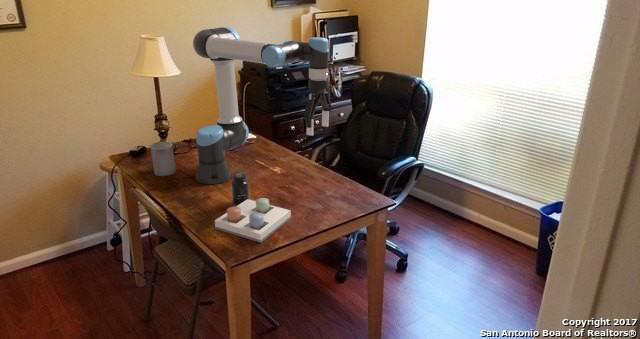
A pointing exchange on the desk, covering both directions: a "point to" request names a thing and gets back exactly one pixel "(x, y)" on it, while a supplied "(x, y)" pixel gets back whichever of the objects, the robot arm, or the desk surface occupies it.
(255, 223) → the slate button
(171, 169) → the pillar candle
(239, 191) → the supplement bottle
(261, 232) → the console
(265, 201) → the sage button
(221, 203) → the desk surface
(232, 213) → the terracotta button
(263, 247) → the desk surface
